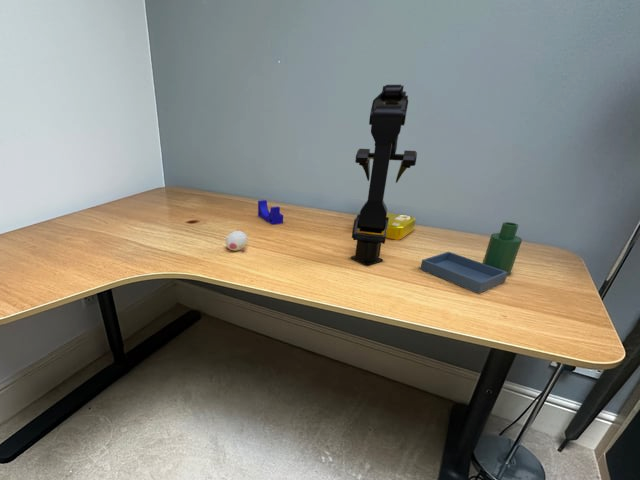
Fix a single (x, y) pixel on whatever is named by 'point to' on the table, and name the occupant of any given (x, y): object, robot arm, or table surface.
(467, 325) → the table surface
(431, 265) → the tray
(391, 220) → the element tile
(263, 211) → the cable clip
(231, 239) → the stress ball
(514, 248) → the bottle
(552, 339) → the table surface
